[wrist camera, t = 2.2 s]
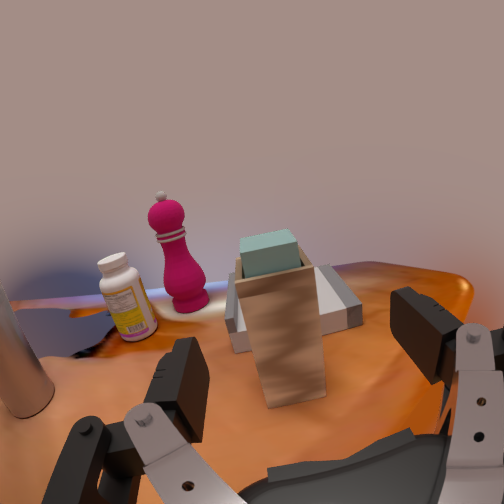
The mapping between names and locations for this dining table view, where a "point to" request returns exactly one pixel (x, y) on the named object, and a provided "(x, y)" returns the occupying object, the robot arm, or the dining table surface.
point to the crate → (284, 332)
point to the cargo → (269, 253)
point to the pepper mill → (177, 256)
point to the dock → (329, 299)
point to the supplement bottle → (126, 298)
